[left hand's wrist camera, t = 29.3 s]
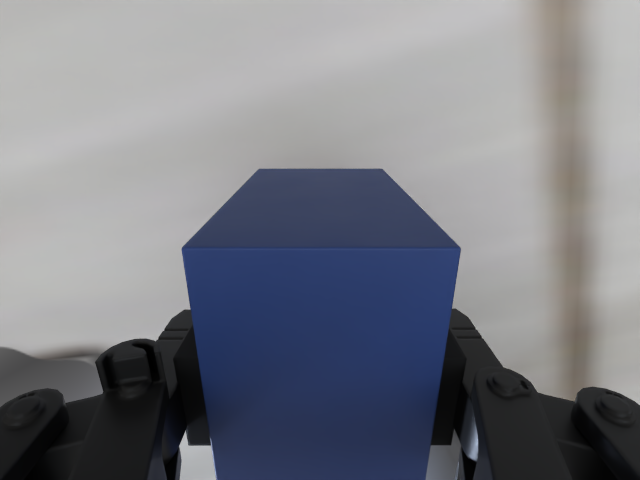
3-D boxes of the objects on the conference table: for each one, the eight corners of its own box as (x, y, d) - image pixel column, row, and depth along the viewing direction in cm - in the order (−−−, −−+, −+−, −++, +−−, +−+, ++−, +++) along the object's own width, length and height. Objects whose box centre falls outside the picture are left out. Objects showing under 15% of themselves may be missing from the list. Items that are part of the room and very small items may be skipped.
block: (372, 335, 18) (417, 536, 9) (268, 335, 18) (223, 536, 9) (382, 168, 15) (461, 247, 6) (258, 168, 15) (180, 247, 6)
